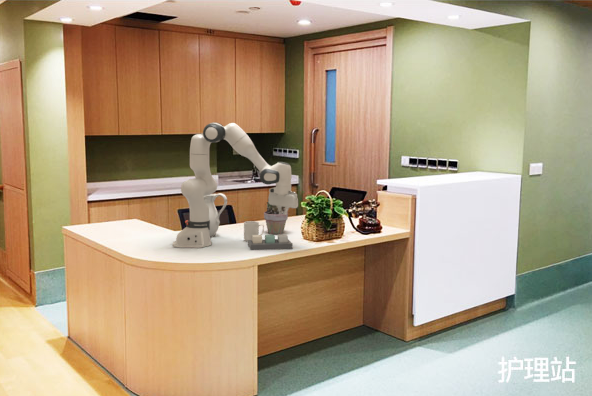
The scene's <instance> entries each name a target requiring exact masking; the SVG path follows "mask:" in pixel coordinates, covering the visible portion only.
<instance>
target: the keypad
mask: <svg viewBox="0 0 592 396" xmlns="http://www.w3.org/2000/svg"><path fill="white" fill-rule="evenodd" d="M247 247H248V248H249V249H250V251H261V250H262V251H263V250H264V251H267V250H293V242H291V240H290V239H288V242H287V243H279V242H278V238H275V243H266V242H265V239H262V243H253V242H252V240H248V242H247Z"/></svg>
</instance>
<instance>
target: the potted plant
mask: <svg viewBox="0 0 592 396" xmlns="http://www.w3.org/2000/svg"><path fill="white" fill-rule="evenodd" d="M267 201H268V202H266V203H265V205H263V207H265V206H266V210H265V211H264V212H263V219H264V221H265V223H266V228H267V233H268V235H278V234H284V231H285V227H286V223H287V220H288V216H289V211H287V215H284V214H279V210H278V206H276V205H270V204H269V197H268V198H267ZM281 209H282V211H285V207H281Z"/></svg>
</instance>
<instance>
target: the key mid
mask: <svg viewBox="0 0 592 396" xmlns="http://www.w3.org/2000/svg"><path fill="white" fill-rule="evenodd" d="M275 239H276V236H275V234H264V240H265V242H266V243H275Z"/></svg>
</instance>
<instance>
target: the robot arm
mask: <svg viewBox="0 0 592 396" xmlns="http://www.w3.org/2000/svg"><path fill="white" fill-rule="evenodd" d="M222 140H225V141H226V142H227V143H228V144H229V145H230V146H231V147H232V149H233V150H234V151H235V152H236V153H237V154H239V155H241V157H245V158H246V159H248V160H249V161H250V162H251V163H252V164H253V165H254V166H255V167H256V168H257V170H258V171H259V180H260V182H261V183H262V184H264V185H268V186H269V185H273V184H275V186H274V187H271V188H269V190H268V192H269V193H268V198H269V204H270V205H276V206H278V210H279V214H284V215H287V212H289V210H290V208H291V209H298V207H299V199H298V193H297V192H296V191H292V182H291V181H292V167H291V165H290V164H289V163H288V162H283V161H277V163H275V164H273V165H271V164H269V163H268V162H267V161H266V160H265V159H264V158H263V157H262V155H261V154H260V153H259V151H258V150H257V148H256V146H255V144H254V142H253V141H252V139H251V137H249V135H248V134H247V132H246V131H245V130H244V129H242V127H241V126H239V125H238V124H237V123H235V122H230V123H228V124H226V125H225V126H224V125H223V124H222V123H219V122H216V121H215V122H210V123H208V124H206V125H205V126H204V128H203V131H202V133H196V134H194V135H193V136H192V137H191V140H190V147H189V167H190V169H191V170H192V171H193V173H194V176H195V177H194V178H189V179H187V180H185V181H183V182H182V183H181V186H180V192H181V194H182V195H183V197H185V199H186V201H187V202H188V208H189V219H187V220H185V221H184V223H185V226H186V227H184V228H183V229H182V230H181V231H179V232H178V233H177V235H176V239H175V240H174V241H172V247H174V248H181V249H182V248H183V249H184V248H191V249H194V248H195V249H203V248H205V247H210V246H211V245H212V244H213V243H212V240H211V237H210V231H209V230H210V220H209V207H208V205H206V204H205V201H204V196H208V195H210V194H215V192H216V191H217V190H218V183H217V181H216V179H215V178H214V176H213V175H212V172H211V168H210V147H211V144H212V143H218V142H220V141H222ZM281 207H285V208H284V209H285V211H282V209H281Z"/></svg>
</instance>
